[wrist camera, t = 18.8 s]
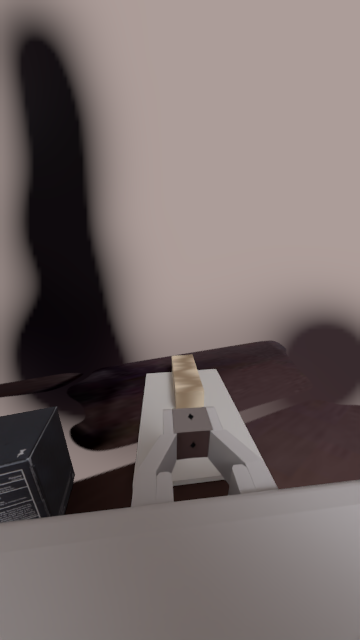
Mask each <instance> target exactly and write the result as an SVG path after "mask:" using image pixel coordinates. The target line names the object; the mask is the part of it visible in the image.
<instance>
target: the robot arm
mask: <svg viewBox="0 0 360 640" xmlns="http://www.w3.org/2000/svg"><path fill="white" fill-rule="evenodd" d="M201 457H208V459H209V460H210V461H211V462H212V464H213V465H214V466H215V467H216V469H217V470H218V471H219V472H220V474H221V475H222V476H223V478H224V479H225V480H226V481H227V483H228V484H229V491H228V496H220V497H212V498H203V499H195V500H186V501H178V502H174V497H173V483H172V474H171V473H172V471H173V468H174V466H175V464H176V460H181V459H188V458H201ZM0 640H360V480H353V481H345V482H336V483H328V484H320V485H311V486H303V487H295V488H286V489H278V488H277V486H276V484H275V482H274V480H273V478H272V476H271V474H270V472H269V470H268V468H267V466H266V464H265V463H264V461H263V460H262V459H261V458H259V457H258V456H257V455H256V454H255V453H253V452H252V451H251V450H250V449H249V448H247V447H246V446H245V445H244V444H243V443H241V442H240V441H239V440H238V439H237V438H235V437H234V436H233V435H232V434H231V433H229V432H228V431H227V430H223V428H222V425H221V422H220V420H219V417H218V415H217V412H216V409H215V407H214V406H207V407H195V408H178V409H163V435H160V436H159V438H158V439H157V441H156V442H155V444H154V446H153V447H152V449H151V450H150V452H149V453H148V455H147V456H146V458H145V459H144V461H143V462H142V464H141V465H140V467H139V468H138V470H137V472H136V473H135V478H134V486H133V495H132V503H131V507H128V508H119V509H111V510H103V511H94V512H86V513H77V514H69V515H61V516H52V517H44V518H36V519H27V520H19V521H10V522H2V523H0Z"/></svg>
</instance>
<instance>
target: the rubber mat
mask: <svg viewBox="0 0 360 640" xmlns="http://www.w3.org/2000/svg"><path fill="white" fill-rule="evenodd" d="M198 373H199V376H200V379H201V382H202V385H203V388H204V407H207V406H214V407H215V409H216V412H217V415H218V417H219V420H220V422H221V425H222V428H223V430H227V431H228V432H229V433H231V434H232V435H233V436H234V437H235V438H237V439H238V440H239V441H240V442H241V443H243V444H244V445H245V446H246V447H247V448H249V449H250V450H251V451H252V452H253V453H255V454H256V455H257V456H258V457H259V458H261V459H262V457H261V455H260V453H259V451H258V449H257V447H256V445H255V443H254V441H253V439H252V438H251V436H250V434H249V432H248V430H247V428H246V426H245V424H244V422H243V420H242V418H241V416H240V414H239V412H238V410H237V409H236V407H235V405H234V403H233V401H232V399H231V397H230V395H229V393H228V391H227V389H226V387H225V385H224V383H223V382H222V380H221V378H220V376H219V374H218V372H217V370H216V369H209V370H198ZM163 409H176V407H175V397H174V386H173V376H172V372H166V373H151V374H146V382H145V390H144V398H143V406H142V414H141V422H140V430H139V438H138V446H137V454H136V462H135V470H134V478H135V473H136V472H137V470H138V468H139V467H140V465H141V464H142V462H143V461H144V459H145V458H146V456H147V455H148V453H149V452H150V450H151V449H152V447H153V446H154V444H155V442H156V441H157V439H158V438H159V436H160V435H163ZM262 460H263V459H262ZM171 474H172V483H173V486H177V485H185V484H193V483H201V482H209V481H217V480H225V479H224V478H223V476H222V475H221V474H220V472H219V471H218V470H217V469H216V467H215V466H214V465H213V464H212V462H211V461H210V460H209V459H208V457H201V458H188V459H181V460H176V464H175V466H174V468H173V471H172V473H171ZM134 478H133V486H134Z"/></svg>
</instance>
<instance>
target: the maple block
mask: <svg viewBox="0 0 360 640" xmlns="http://www.w3.org/2000/svg"><path fill="white" fill-rule="evenodd" d="M172 376H173V386H174V397H175V407H176V409H178V408H195V407H204V388H203V385H202V382H201V379H200V376H199V373H198V370H197V367H196V364H195V361H194V358H193V355H178V356H172Z"/></svg>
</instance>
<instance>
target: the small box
mask: <svg viewBox="0 0 360 640" xmlns="http://www.w3.org/2000/svg"><path fill="white" fill-rule="evenodd" d="M74 476H75V474H74V470H73V467H72V463H71V460H70V456H69V452H68V448H67V445H66V440H65V437H64V433H63V429H62V426H61V422H60V418H59V414H58V410H57V407H50V408H45V409H39V410H34V411H29V412H23V413H18V414H12V415H7V416H1V417H0V523H2V522H10V521H19V520H27V519H36V518H44V517H52V516H61V515H65V511H66V508H67V503H68V500H69V496H70V492H71V490H72V486H73V481H74Z"/></svg>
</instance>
